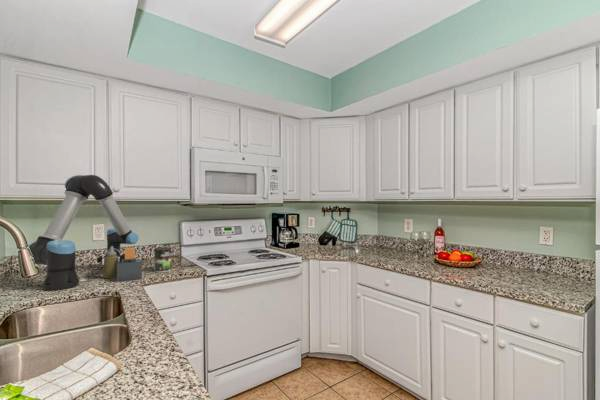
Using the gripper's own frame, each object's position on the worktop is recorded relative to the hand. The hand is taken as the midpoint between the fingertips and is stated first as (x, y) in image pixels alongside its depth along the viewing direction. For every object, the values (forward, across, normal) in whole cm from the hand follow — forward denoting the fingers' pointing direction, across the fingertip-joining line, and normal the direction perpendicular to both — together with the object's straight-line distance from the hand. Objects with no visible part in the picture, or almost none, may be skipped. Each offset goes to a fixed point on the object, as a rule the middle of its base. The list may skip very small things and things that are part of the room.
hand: (110, 261), depth 171 cm
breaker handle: (+2, -9, 0) cm, 10 cm away
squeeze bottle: (-5, +1, -10) cm, 11 cm away
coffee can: (-8, -28, -10) cm, 31 cm away
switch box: (+4, -9, -10) cm, 14 cm away
